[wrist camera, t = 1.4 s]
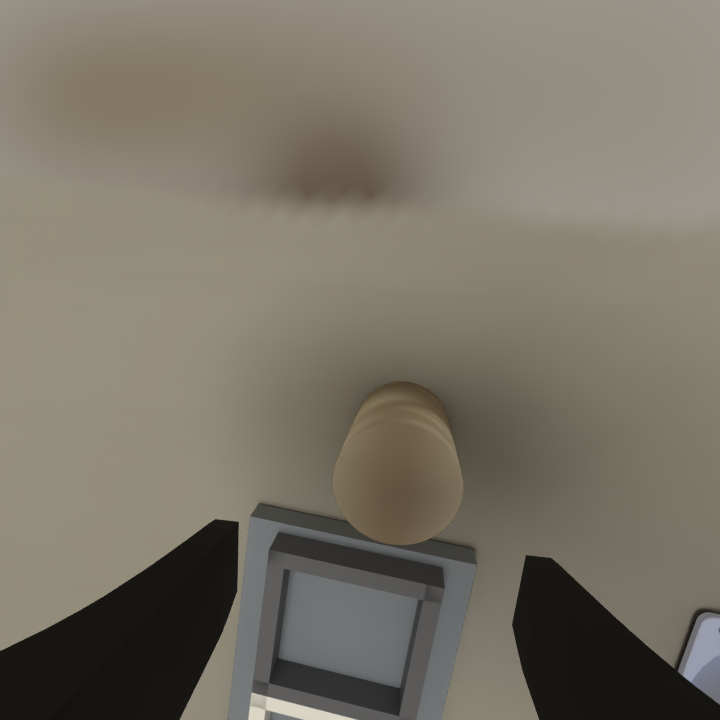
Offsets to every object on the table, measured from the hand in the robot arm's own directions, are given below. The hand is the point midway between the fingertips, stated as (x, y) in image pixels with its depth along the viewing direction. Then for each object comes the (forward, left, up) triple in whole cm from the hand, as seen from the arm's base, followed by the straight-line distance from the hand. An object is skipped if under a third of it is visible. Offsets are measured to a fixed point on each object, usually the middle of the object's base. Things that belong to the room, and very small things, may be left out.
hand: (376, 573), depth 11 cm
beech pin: (0, 0, -10) cm, 10 cm away
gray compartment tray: (+1, +18, -10) cm, 20 cm away
